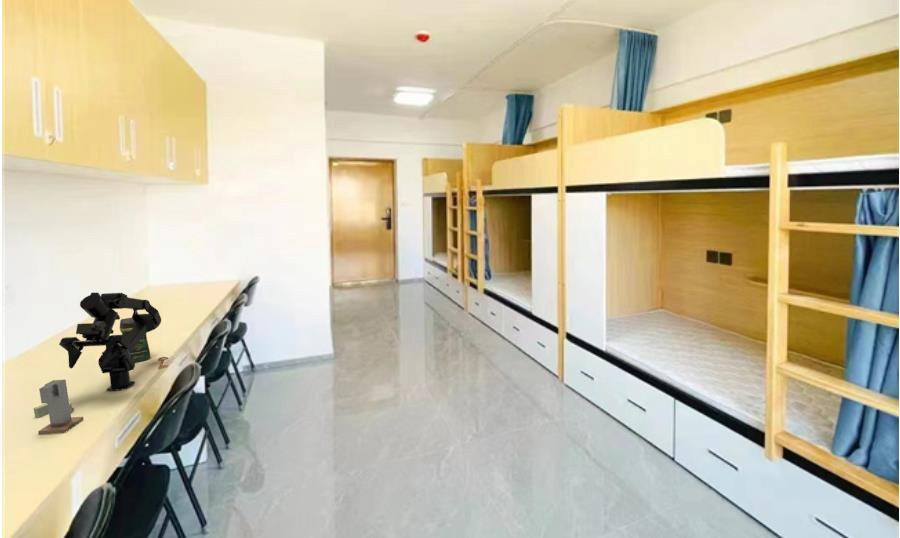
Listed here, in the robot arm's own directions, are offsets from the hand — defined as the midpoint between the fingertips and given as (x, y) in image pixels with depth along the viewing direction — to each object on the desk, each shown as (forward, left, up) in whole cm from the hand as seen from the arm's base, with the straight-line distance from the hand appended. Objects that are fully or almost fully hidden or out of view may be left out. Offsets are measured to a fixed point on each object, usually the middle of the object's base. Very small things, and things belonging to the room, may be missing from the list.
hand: (86, 367), depth 147 cm
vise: (+4, -8, -14) cm, 16 cm away
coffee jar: (-47, -7, -14) cm, 50 cm away
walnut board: (+14, -1, -14) cm, 19 cm away
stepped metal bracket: (+15, -1, -13) cm, 20 cm away
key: (-41, +6, -14) cm, 43 cm away
